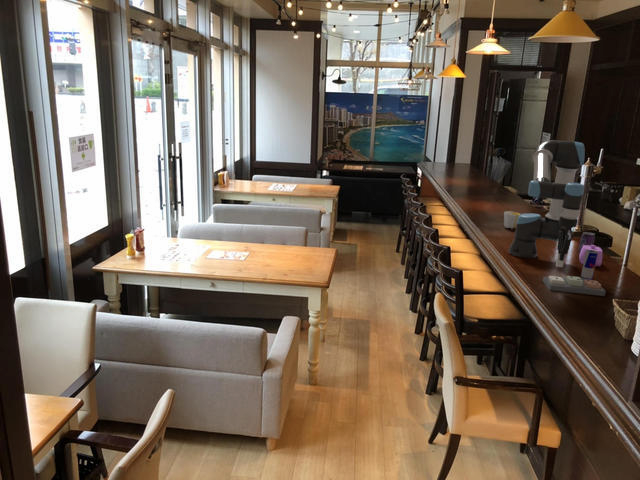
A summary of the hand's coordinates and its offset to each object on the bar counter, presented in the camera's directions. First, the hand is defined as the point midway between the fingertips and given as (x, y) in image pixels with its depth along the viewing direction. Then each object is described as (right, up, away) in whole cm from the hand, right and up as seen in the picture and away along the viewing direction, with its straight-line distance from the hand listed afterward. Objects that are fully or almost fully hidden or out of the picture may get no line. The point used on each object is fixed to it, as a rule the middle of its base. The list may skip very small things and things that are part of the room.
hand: (559, 266), depth 240 cm
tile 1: (-1, -9, +2) cm, 9 cm away
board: (+7, -10, +2) cm, 13 cm away
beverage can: (+44, +4, +63) cm, 77 cm away
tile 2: (+7, -9, +1) cm, 11 cm away
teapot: (+37, 0, +44) cm, 58 cm away
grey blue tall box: (+21, -8, +15) cm, 27 cm away
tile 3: (+15, -10, 0) cm, 18 cm away
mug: (+20, +20, +112) cm, 116 cm away
